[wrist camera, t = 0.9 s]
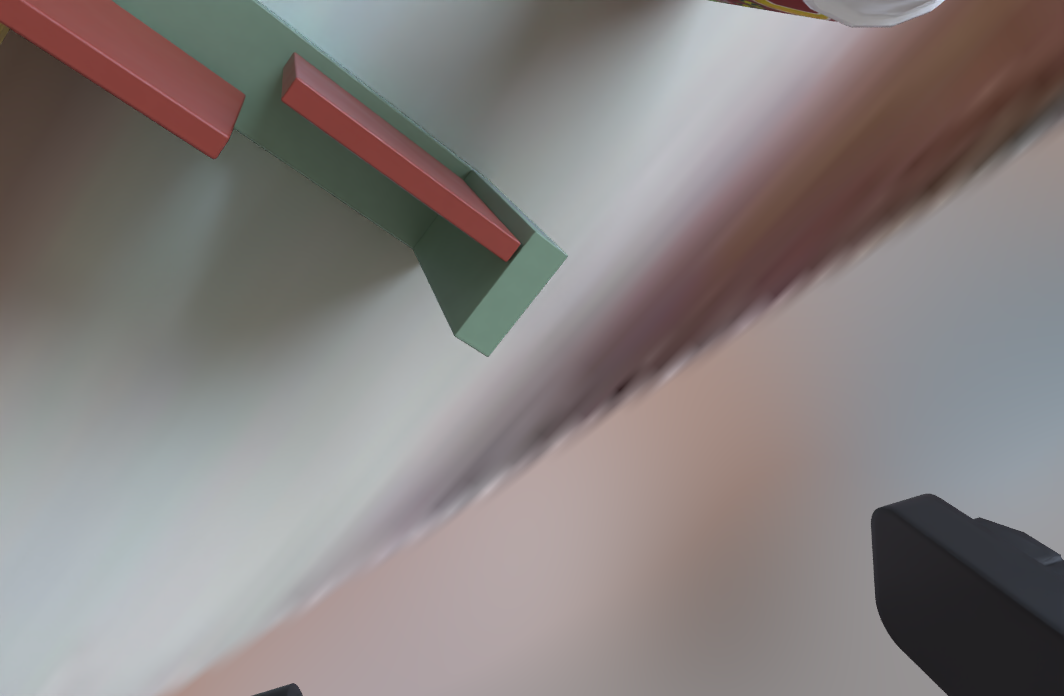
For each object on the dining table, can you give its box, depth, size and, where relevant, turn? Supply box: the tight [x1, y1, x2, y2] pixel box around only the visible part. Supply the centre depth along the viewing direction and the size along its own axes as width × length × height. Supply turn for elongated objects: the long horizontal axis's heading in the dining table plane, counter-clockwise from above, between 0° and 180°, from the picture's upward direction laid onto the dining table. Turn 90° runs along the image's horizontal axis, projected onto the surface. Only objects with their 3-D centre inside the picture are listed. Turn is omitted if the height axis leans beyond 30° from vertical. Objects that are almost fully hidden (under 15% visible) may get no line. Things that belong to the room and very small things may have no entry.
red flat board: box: [0, 0, 246, 159], centre depth 22 cm, size 4×8×9 cm, turn 50°
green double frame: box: [112, 0, 568, 357], centre depth 25 cm, size 4×20×11 cm, turn 51°
